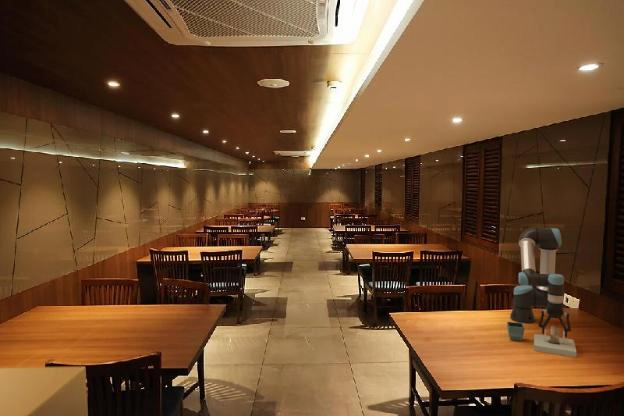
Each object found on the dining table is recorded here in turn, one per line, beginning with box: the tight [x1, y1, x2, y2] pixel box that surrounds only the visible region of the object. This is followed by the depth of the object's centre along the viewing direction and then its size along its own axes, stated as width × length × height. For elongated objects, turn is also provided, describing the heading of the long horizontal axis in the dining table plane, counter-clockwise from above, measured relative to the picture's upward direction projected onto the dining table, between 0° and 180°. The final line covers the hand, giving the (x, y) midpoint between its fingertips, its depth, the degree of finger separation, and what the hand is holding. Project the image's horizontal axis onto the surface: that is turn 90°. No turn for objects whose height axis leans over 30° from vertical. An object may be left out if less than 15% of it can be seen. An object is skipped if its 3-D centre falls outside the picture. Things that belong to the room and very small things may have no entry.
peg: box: [549, 325, 560, 345], centre depth 235 cm, size 4×4×12 cm
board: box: [533, 333, 577, 358], centre depth 235 cm, size 20×20×3 cm
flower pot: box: [506, 321, 526, 342], centre depth 248 cm, size 9×9×9 cm
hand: (554, 340), depth 235 cm, fingers open, 8 cm apart
